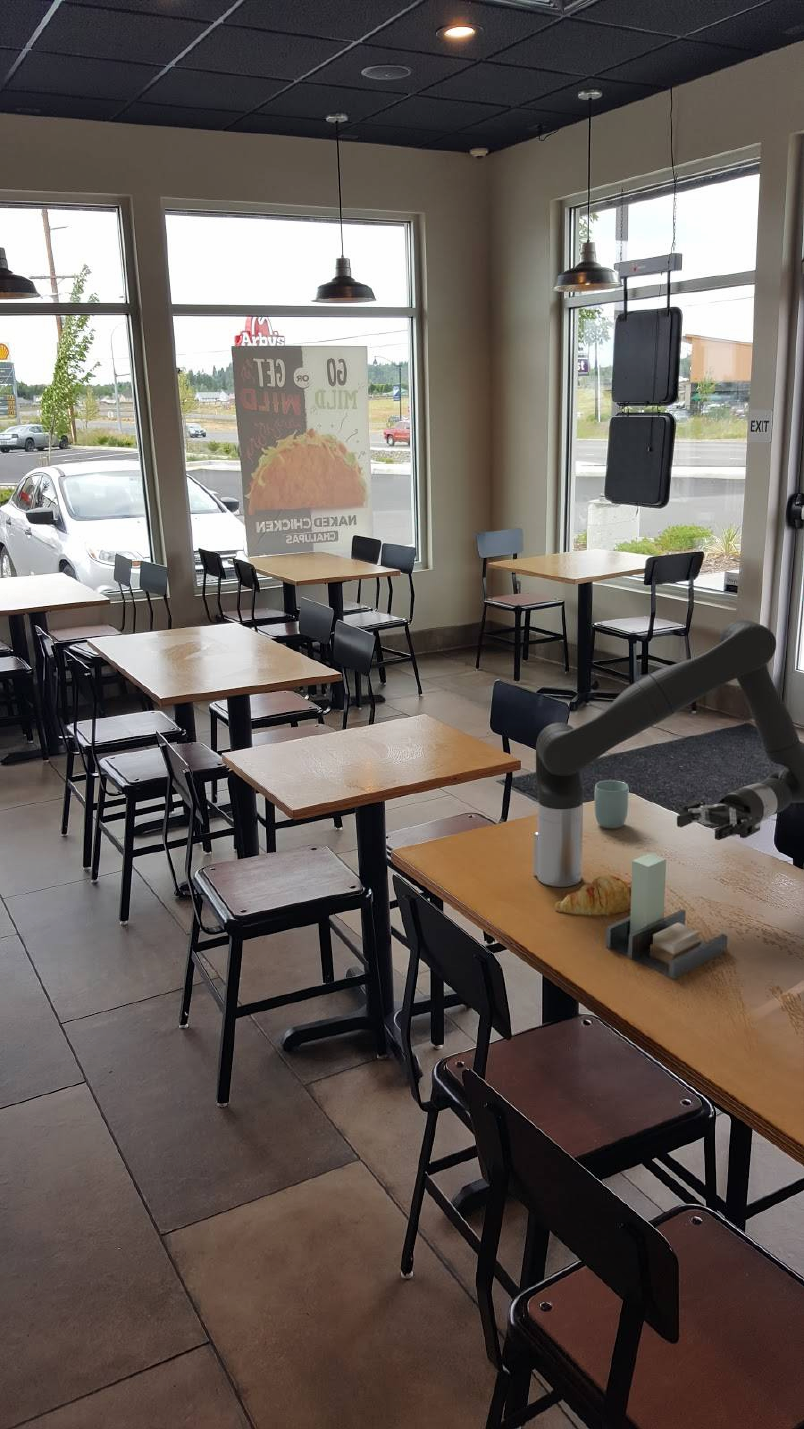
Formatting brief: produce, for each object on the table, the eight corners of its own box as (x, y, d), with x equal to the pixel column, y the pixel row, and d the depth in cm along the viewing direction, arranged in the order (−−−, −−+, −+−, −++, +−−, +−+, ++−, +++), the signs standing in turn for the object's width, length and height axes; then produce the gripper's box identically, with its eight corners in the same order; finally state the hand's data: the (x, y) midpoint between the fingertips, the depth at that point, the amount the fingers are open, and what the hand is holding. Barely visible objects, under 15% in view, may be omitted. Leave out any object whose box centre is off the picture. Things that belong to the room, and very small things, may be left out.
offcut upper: (652, 944, 193) (653, 934, 192) (677, 932, 197) (678, 922, 196) (673, 954, 189) (674, 944, 189) (698, 941, 193) (699, 931, 193)
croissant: (561, 938, 210) (568, 913, 204) (543, 896, 216) (550, 872, 211) (660, 920, 215) (670, 895, 209) (639, 880, 221) (648, 855, 216)
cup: (627, 832, 250) (628, 792, 247) (593, 831, 251) (594, 790, 248) (627, 820, 257) (629, 780, 254) (594, 818, 258) (595, 779, 256)
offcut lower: (649, 955, 193) (650, 945, 193) (677, 940, 198) (678, 931, 197) (672, 965, 189) (672, 955, 189) (700, 951, 194) (701, 940, 193)
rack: (605, 951, 197) (606, 924, 195) (658, 926, 206) (659, 899, 204) (673, 984, 185) (674, 955, 184) (726, 955, 194) (728, 928, 193)
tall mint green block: (629, 940, 198) (632, 860, 194) (647, 932, 201) (650, 852, 197) (645, 947, 196) (648, 866, 191) (662, 938, 199) (666, 858, 194)
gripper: (718, 779, 215) (666, 799, 206) (782, 797, 204) (730, 820, 195) (717, 814, 217) (665, 836, 208) (779, 834, 207) (728, 858, 197)
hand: (697, 828), depth 201 cm, fingers open, 8 cm apart
